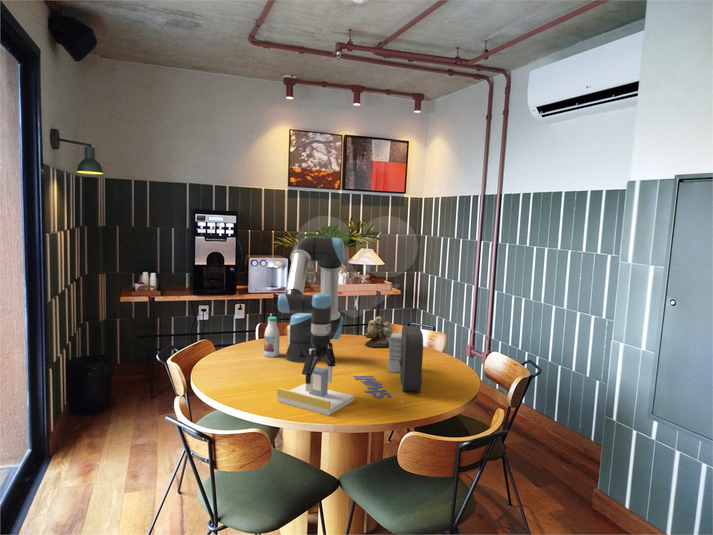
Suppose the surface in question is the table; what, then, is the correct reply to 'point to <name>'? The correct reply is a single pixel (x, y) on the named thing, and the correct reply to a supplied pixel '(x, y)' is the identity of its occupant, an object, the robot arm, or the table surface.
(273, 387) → the table surface
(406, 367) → the speaker
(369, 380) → the signage
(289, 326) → the coffee cup
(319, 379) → the carton
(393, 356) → the supplement box
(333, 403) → the display plank
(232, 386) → the table surface
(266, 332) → the milk bottle
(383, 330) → the owl figurine
